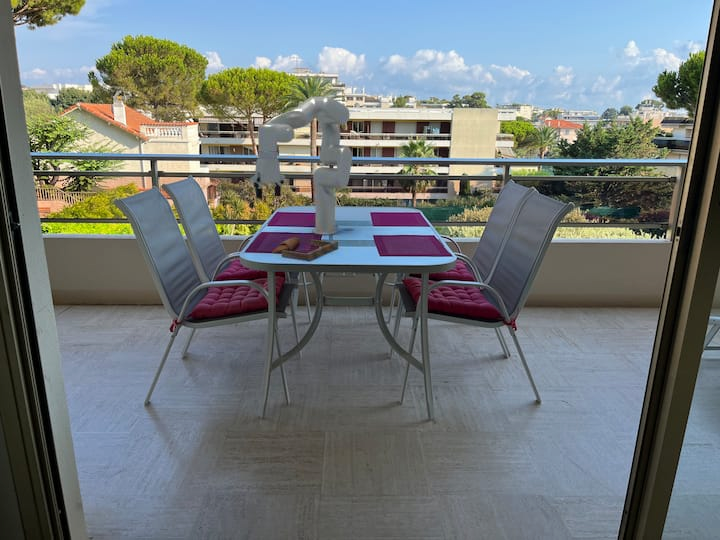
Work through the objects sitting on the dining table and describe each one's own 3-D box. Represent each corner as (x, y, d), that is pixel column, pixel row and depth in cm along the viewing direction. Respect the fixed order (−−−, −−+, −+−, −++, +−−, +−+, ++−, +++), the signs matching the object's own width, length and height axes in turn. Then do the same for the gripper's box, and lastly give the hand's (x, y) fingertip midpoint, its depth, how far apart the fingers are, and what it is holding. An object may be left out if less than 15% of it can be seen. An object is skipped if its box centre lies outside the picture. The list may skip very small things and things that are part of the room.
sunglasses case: (281, 243, 238) (288, 231, 236) (295, 251, 238) (302, 239, 236) (270, 253, 221) (278, 240, 219) (285, 262, 221) (293, 249, 219)
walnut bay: (311, 244, 237) (311, 238, 236) (338, 248, 232) (338, 241, 231) (281, 256, 216) (281, 249, 216) (309, 261, 211) (309, 254, 210)
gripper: (278, 154, 226) (279, 194, 231) (245, 155, 214) (246, 197, 219) (290, 155, 222) (290, 196, 226) (256, 156, 209) (257, 200, 214)
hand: (268, 197), depth 223 cm, fingers open, 9 cm apart
